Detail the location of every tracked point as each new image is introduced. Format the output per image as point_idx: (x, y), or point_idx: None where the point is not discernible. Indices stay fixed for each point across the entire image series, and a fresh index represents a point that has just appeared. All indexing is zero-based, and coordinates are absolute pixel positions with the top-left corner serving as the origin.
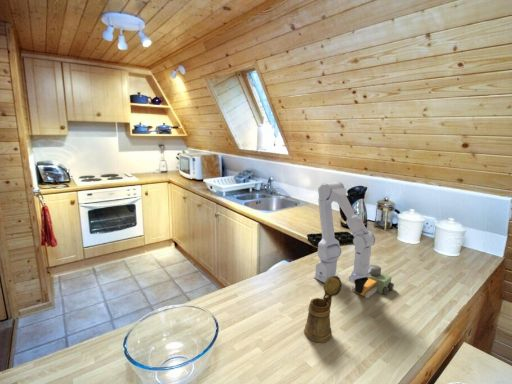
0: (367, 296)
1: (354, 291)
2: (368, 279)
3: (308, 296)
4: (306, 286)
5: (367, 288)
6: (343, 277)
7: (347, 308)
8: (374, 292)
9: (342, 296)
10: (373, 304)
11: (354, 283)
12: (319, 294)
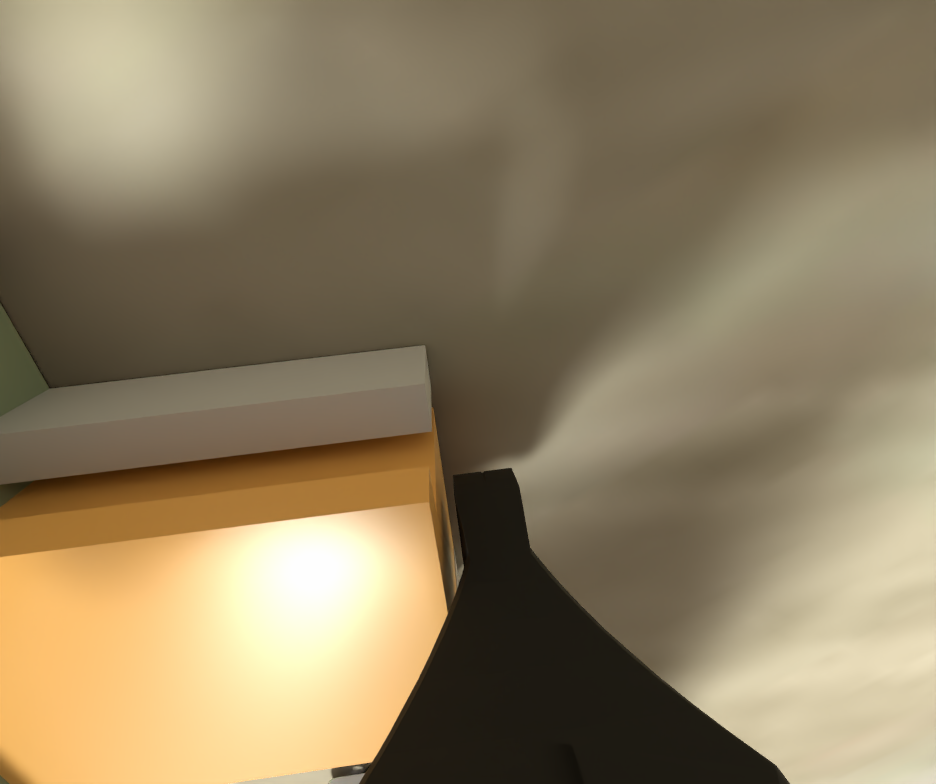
0: (425, 361)
1: None
2: (35, 703)
3: (914, 680)
4: None
5: (413, 481)
6: None
7: (933, 346)
8: (141, 383)
9: (676, 550)
10: (510, 147)
11: None
12: (813, 665)
